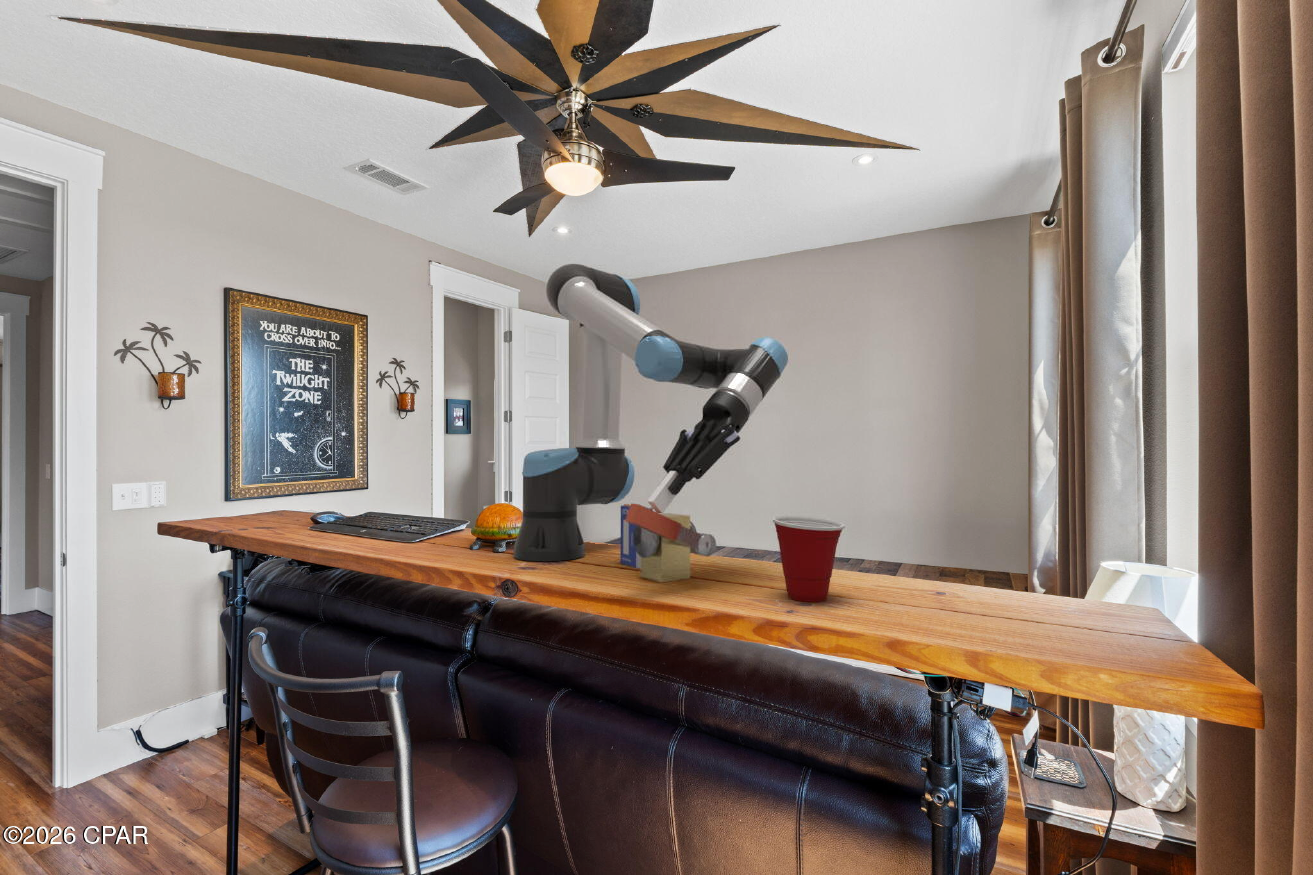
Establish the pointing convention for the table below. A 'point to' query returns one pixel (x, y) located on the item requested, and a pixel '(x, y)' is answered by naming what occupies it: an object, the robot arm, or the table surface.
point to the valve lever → (671, 530)
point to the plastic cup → (807, 555)
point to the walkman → (628, 540)
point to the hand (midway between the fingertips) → (654, 507)
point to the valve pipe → (663, 553)
